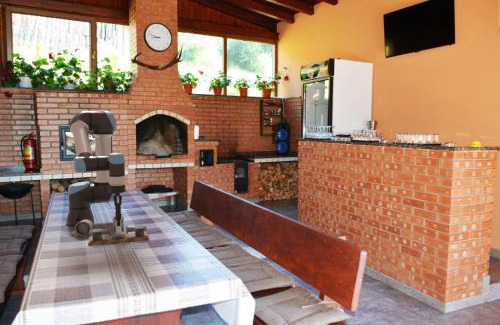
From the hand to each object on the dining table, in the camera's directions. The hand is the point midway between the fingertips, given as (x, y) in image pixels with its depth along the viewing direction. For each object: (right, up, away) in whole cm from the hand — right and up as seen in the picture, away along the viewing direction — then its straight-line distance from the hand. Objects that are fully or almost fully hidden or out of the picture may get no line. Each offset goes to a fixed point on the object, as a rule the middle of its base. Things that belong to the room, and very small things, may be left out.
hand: (118, 230), depth 195 cm
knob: (0, 0, 0) cm, 0 cm away
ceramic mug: (-22, -4, +9) cm, 24 cm away
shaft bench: (0, -5, 0) cm, 5 cm away
